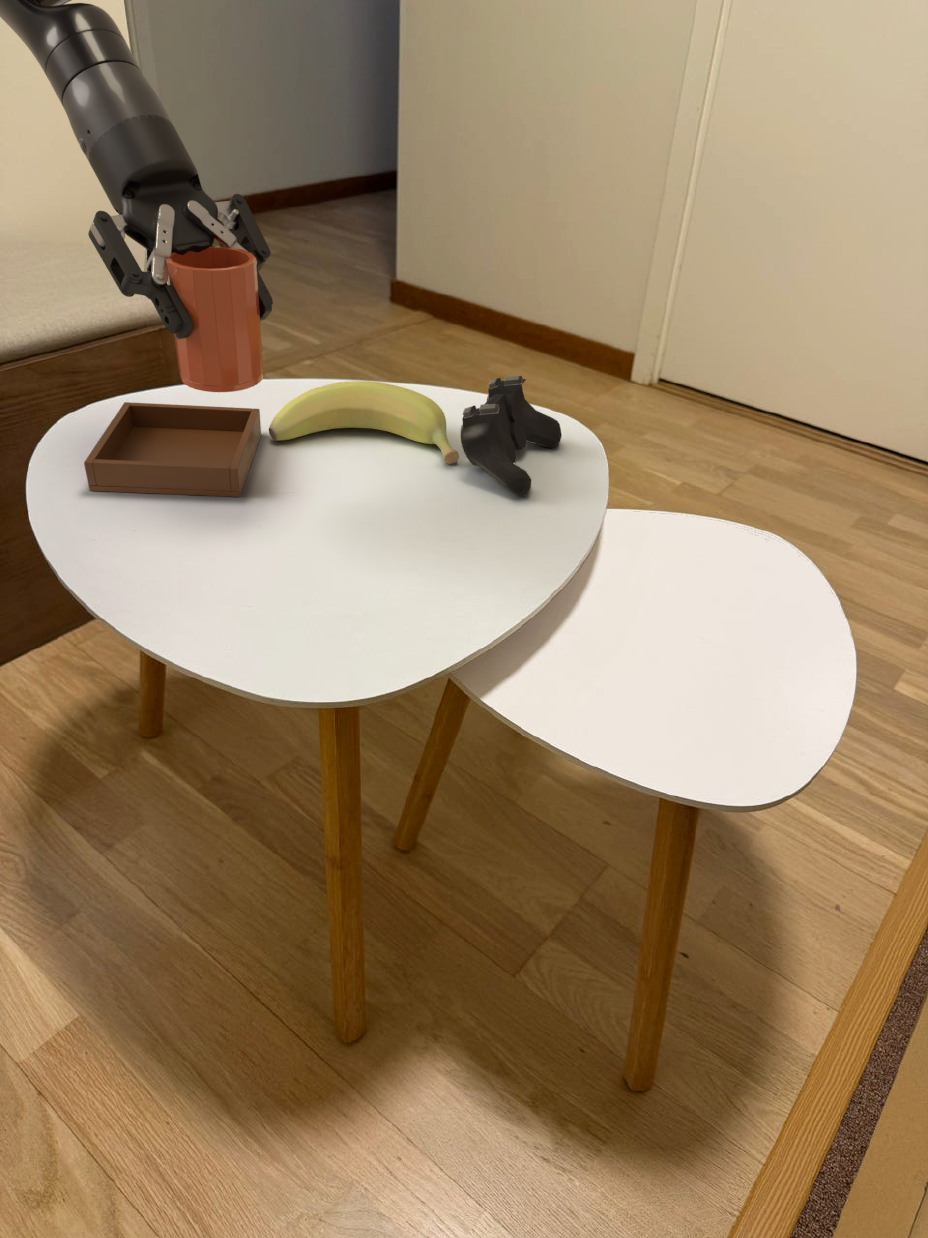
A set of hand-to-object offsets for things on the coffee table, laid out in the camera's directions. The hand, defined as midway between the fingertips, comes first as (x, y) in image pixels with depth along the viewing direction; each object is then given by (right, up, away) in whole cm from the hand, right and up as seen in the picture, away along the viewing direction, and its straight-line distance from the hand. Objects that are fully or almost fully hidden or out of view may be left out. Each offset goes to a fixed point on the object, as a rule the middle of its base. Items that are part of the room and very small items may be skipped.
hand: (227, 324), depth 74 cm
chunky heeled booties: (+25, -7, +25) cm, 36 cm away
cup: (-1, -3, +4) cm, 5 cm away
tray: (-10, -8, +20) cm, 24 cm away
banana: (+10, -5, +26) cm, 28 cm away
